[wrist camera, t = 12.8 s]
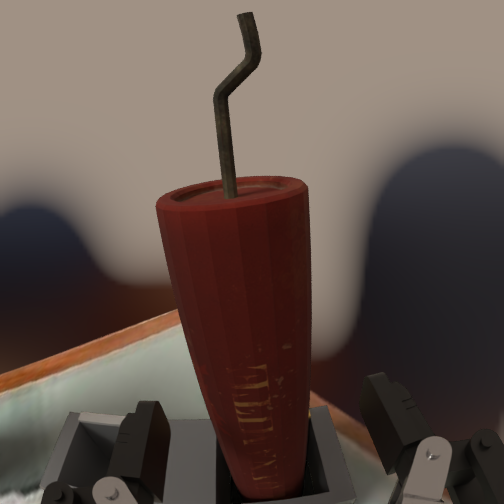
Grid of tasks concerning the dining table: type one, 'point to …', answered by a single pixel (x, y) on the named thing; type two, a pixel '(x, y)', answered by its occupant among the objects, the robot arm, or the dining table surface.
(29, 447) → the dining table surface
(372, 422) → the robot arm
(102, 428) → the socket block
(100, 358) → the dining table surface
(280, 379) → the firecracker
